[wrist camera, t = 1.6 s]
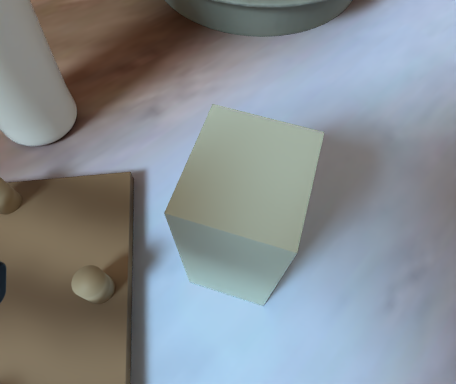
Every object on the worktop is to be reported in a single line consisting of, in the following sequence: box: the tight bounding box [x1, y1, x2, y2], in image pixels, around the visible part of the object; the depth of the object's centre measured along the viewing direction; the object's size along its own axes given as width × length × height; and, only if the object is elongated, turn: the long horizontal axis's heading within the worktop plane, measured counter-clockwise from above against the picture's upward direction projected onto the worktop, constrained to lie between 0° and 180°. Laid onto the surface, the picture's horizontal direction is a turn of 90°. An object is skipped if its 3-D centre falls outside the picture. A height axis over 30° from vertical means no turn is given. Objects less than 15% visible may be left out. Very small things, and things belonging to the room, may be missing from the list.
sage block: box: [165, 104, 324, 306], centre depth 16 cm, size 5×4×10 cm
